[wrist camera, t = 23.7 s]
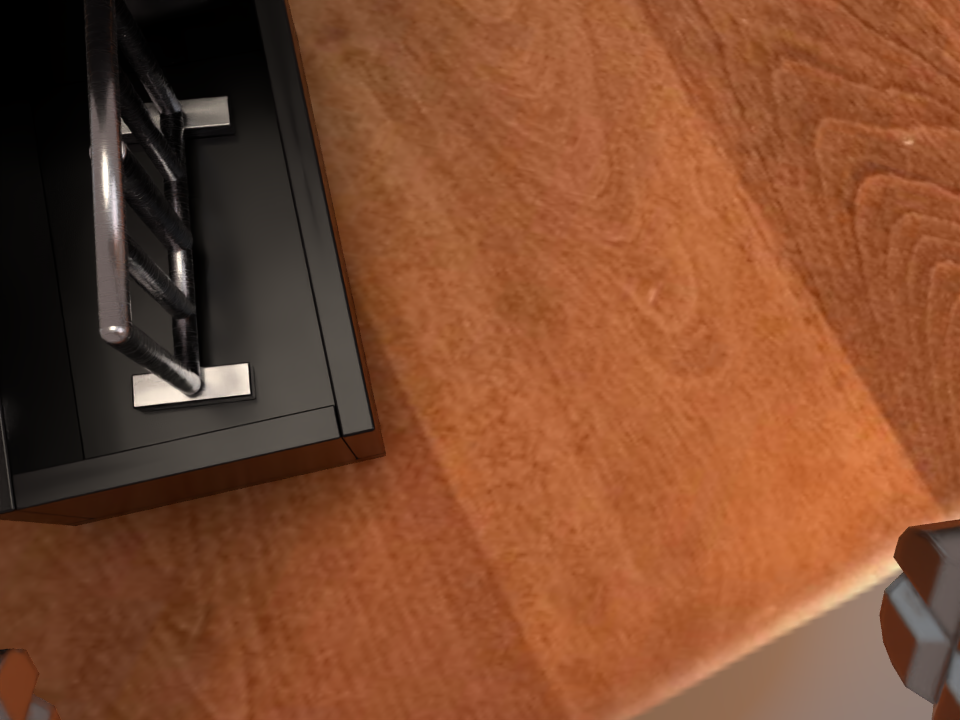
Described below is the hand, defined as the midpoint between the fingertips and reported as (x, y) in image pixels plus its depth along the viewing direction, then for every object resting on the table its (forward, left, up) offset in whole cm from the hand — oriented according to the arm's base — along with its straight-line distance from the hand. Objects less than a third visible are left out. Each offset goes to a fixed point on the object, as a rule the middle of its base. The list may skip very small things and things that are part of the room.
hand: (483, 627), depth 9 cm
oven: (+13, +7, -24) cm, 28 cm away
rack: (+13, +6, -23) cm, 27 cm away
